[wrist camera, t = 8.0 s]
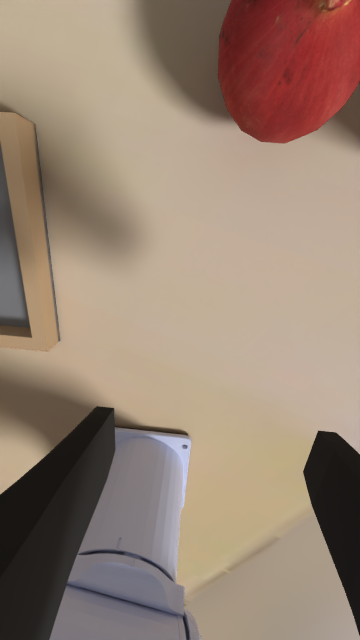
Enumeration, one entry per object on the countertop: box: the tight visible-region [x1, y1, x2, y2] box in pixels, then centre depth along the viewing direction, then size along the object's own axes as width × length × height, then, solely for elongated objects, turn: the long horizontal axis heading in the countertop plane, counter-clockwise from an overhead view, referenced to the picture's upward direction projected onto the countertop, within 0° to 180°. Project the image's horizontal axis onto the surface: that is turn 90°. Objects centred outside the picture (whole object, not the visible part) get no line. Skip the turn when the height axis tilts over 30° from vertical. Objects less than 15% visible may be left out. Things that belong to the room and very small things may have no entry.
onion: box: [218, 0, 360, 143], centre depth 10 cm, size 6×6×8 cm
